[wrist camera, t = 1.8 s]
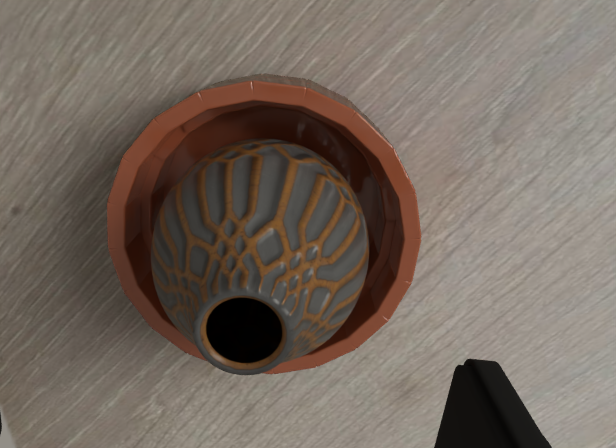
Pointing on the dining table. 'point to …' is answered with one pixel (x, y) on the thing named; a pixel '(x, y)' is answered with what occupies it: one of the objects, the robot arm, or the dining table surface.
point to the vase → (259, 254)
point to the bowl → (282, 126)
